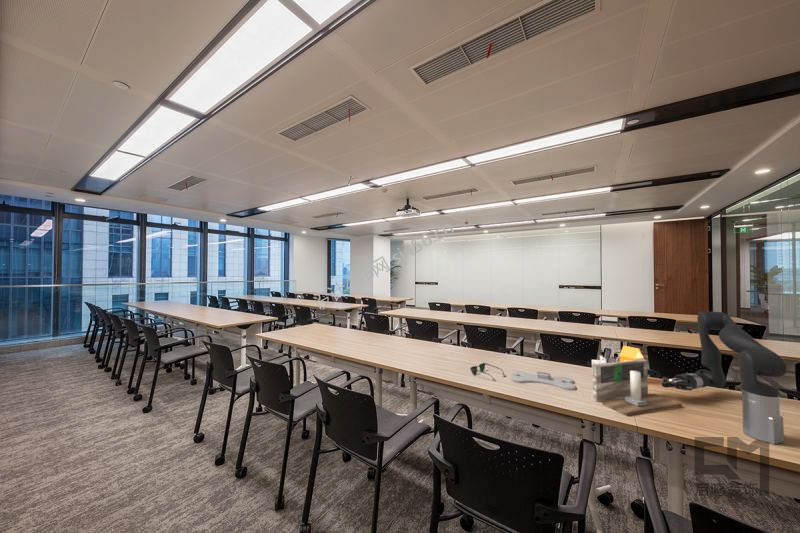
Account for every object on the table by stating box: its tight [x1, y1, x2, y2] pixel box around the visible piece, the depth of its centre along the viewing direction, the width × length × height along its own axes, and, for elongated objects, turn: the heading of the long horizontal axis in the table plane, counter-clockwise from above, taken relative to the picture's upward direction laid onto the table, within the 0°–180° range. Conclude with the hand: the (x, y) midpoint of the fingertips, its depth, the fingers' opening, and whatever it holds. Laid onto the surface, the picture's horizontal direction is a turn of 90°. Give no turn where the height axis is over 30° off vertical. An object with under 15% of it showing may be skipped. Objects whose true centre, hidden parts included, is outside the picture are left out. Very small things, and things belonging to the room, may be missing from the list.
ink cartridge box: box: [591, 355, 607, 380], centre depth 171 cm, size 9×5×15 cm, turn 168°
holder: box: [510, 369, 577, 391], centre depth 172 cm, size 19×34×5 cm, turn 65°
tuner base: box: [591, 358, 683, 417], centre depth 142 cm, size 17×34×18 cm, turn 104°
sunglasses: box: [469, 362, 506, 382], centre depth 181 cm, size 16×17×5 cm
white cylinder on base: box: [619, 371, 647, 406], centre depth 141 cm, size 11×6×15 cm, turn 14°
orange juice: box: [619, 345, 645, 362], centre depth 172 cm, size 8×9×20 cm
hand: (664, 385), depth 143 cm, fingers closed
